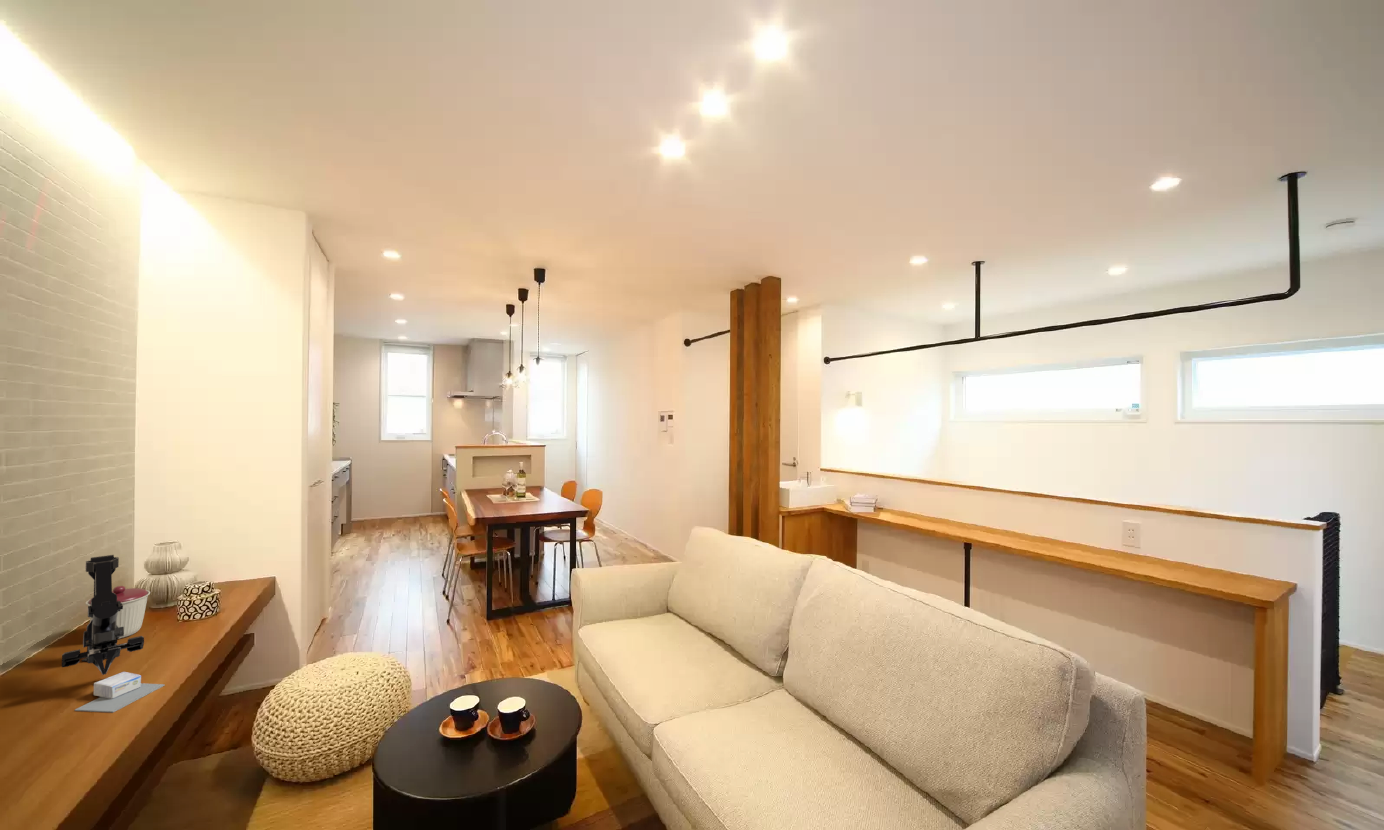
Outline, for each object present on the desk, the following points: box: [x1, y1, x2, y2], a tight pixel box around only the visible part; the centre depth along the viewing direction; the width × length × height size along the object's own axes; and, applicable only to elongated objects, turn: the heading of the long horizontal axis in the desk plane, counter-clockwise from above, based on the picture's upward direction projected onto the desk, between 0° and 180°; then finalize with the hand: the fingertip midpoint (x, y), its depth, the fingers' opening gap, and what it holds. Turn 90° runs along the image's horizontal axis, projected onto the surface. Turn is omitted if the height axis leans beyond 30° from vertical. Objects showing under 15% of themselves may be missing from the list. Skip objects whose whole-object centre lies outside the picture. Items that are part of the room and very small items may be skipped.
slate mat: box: [74, 682, 165, 714], centre depth 171 cm, size 12×16×1 cm
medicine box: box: [93, 671, 142, 699], centre depth 174 cm, size 8×4×9 cm
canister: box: [85, 585, 151, 640], centre depth 213 cm, size 18×18×21 cm
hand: (104, 673), depth 173 cm, fingers closed
